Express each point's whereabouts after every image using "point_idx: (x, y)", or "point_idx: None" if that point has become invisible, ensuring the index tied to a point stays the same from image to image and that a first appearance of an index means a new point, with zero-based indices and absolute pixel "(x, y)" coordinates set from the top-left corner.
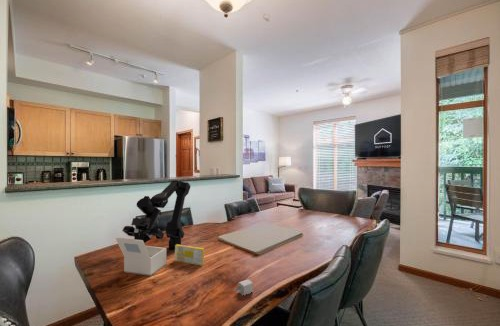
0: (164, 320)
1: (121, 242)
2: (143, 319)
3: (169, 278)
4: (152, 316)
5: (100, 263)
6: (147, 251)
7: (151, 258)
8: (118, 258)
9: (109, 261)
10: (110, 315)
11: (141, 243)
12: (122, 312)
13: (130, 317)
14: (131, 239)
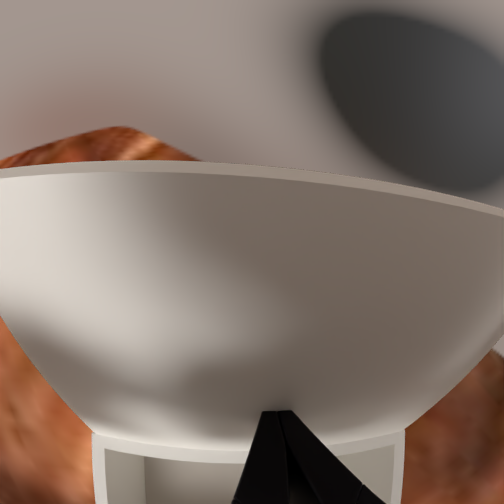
0: (4, 160)
1: (481, 297)
2: (48, 147)
3: (30, 396)
4: (29, 161)
5: (495, 423)
6: (51, 384)
7: (94, 441)
8: (464, 497)
9: (479, 456)
10: (145, 135)
11: (9, 249)
12: (115, 150)
13: (83, 143)
14: (256, 168)
